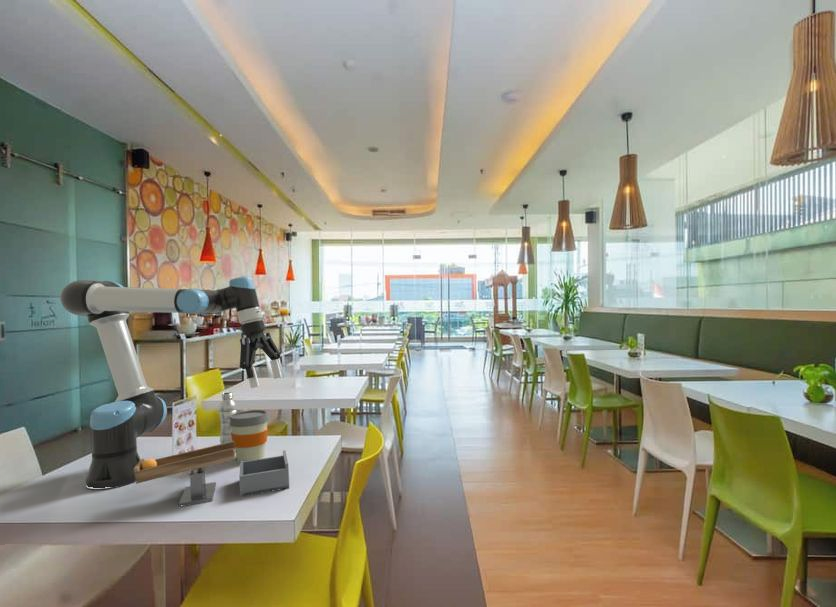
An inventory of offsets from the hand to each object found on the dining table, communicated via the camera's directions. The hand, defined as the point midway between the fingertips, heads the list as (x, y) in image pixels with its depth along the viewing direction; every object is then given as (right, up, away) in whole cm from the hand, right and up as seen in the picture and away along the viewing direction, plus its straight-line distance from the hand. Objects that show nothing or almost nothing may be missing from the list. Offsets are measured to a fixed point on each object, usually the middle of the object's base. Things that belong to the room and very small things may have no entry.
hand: (267, 382), depth 154 cm
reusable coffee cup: (-7, -27, +4) cm, 28 cm away
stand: (-10, -27, -27) cm, 39 cm away
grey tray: (+6, -26, -21) cm, 34 cm away
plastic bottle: (-20, -27, +18) cm, 38 cm away
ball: (-22, -17, -31) cm, 42 cm away
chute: (-14, -20, -24) cm, 34 cm away
